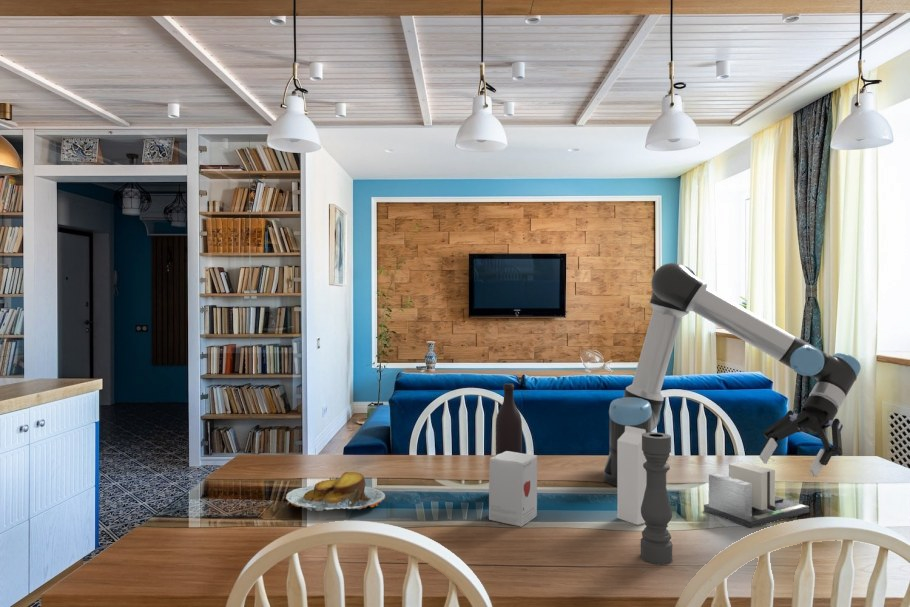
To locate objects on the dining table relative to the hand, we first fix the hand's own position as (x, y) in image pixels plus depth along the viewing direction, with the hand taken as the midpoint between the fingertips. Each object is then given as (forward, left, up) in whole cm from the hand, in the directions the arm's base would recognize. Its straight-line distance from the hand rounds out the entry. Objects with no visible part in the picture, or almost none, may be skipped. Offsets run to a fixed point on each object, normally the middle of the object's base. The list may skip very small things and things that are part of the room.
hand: (786, 466), depth 156 cm
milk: (-30, -30, -10) cm, 44 cm away
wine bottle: (-64, -30, -10) cm, 72 cm away
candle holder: (-20, -50, -10) cm, 55 cm away
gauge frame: (-6, -9, -10) cm, 15 cm away
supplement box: (-55, -45, -10) cm, 72 cm away
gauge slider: (-6, -11, -7) cm, 15 cm away
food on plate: (-99, -60, -10) cm, 116 cm away
